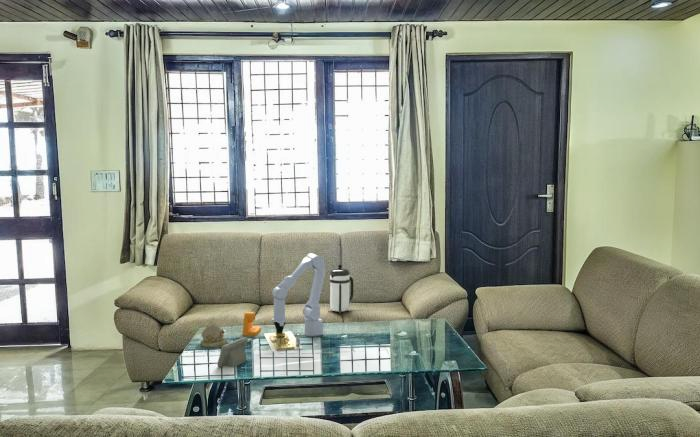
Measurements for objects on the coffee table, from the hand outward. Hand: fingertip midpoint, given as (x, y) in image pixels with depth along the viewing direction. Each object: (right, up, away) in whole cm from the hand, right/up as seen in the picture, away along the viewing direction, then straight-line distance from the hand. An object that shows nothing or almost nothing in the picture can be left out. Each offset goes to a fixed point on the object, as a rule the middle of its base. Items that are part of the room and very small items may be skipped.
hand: (279, 335), depth 269 cm
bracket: (-16, -2, +11) cm, 20 cm away
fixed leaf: (+3, -3, -9) cm, 10 cm away
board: (+2, -3, -2) cm, 4 cm away
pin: (+11, -3, -9) cm, 14 cm away
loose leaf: (0, -2, 0) cm, 2 cm away
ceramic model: (-33, -3, -4) cm, 33 cm away
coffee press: (+31, +2, +57) cm, 65 cm away
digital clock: (-17, -6, -31) cm, 36 cm away
